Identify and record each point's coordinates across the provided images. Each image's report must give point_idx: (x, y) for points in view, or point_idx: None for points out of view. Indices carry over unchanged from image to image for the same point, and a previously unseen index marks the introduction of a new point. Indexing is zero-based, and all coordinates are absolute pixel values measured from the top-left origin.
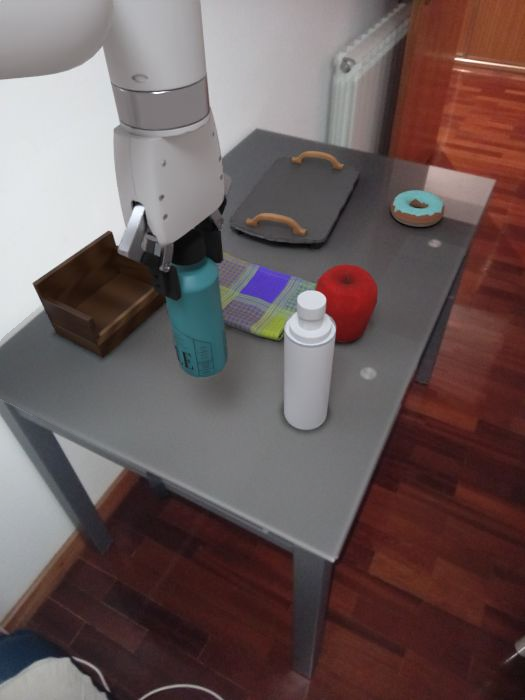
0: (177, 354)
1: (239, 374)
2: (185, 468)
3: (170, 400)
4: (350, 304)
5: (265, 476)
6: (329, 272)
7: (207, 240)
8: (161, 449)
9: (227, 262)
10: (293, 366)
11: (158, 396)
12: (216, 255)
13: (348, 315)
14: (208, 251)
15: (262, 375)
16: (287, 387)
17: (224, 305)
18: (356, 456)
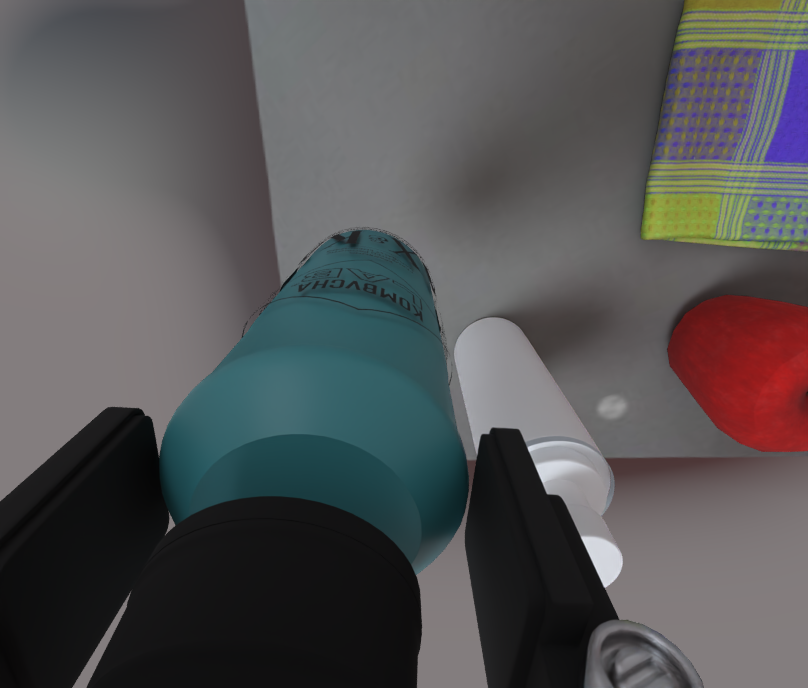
0: (290, 278)
1: (528, 199)
2: (295, 225)
3: (405, 98)
4: (731, 422)
5: None
6: None
7: (494, 608)
8: (301, 159)
9: None
10: (477, 430)
11: (402, 62)
12: (471, 573)
13: (708, 407)
14: (478, 539)
15: (543, 244)
16: (472, 375)
17: (732, 42)
18: None
